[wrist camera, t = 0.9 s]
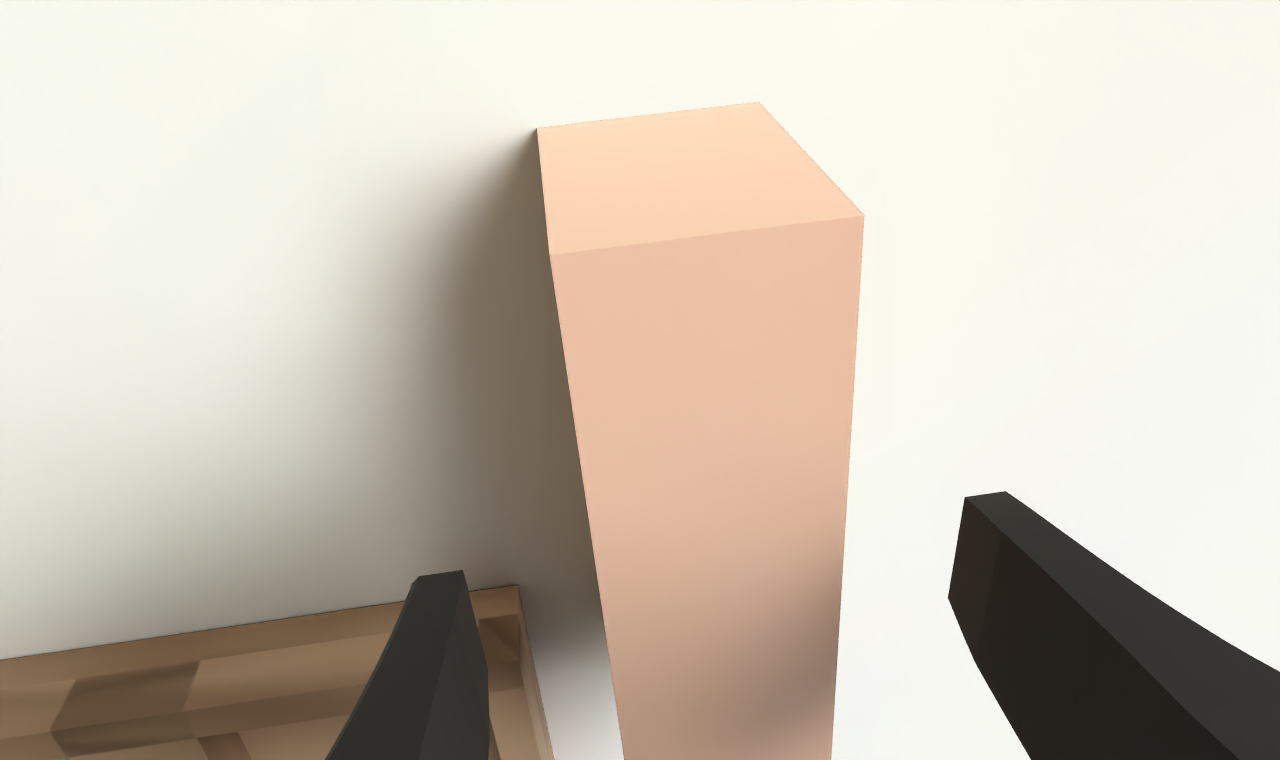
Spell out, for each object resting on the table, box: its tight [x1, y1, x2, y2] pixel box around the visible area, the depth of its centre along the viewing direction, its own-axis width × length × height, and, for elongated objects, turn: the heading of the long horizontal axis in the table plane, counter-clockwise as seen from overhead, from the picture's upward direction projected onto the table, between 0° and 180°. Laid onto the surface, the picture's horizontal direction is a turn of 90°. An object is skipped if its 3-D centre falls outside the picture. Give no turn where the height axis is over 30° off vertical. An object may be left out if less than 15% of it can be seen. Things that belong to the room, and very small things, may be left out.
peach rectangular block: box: [537, 102, 864, 760], centre depth 15 cm, size 11×4×5 cm, turn 5°
